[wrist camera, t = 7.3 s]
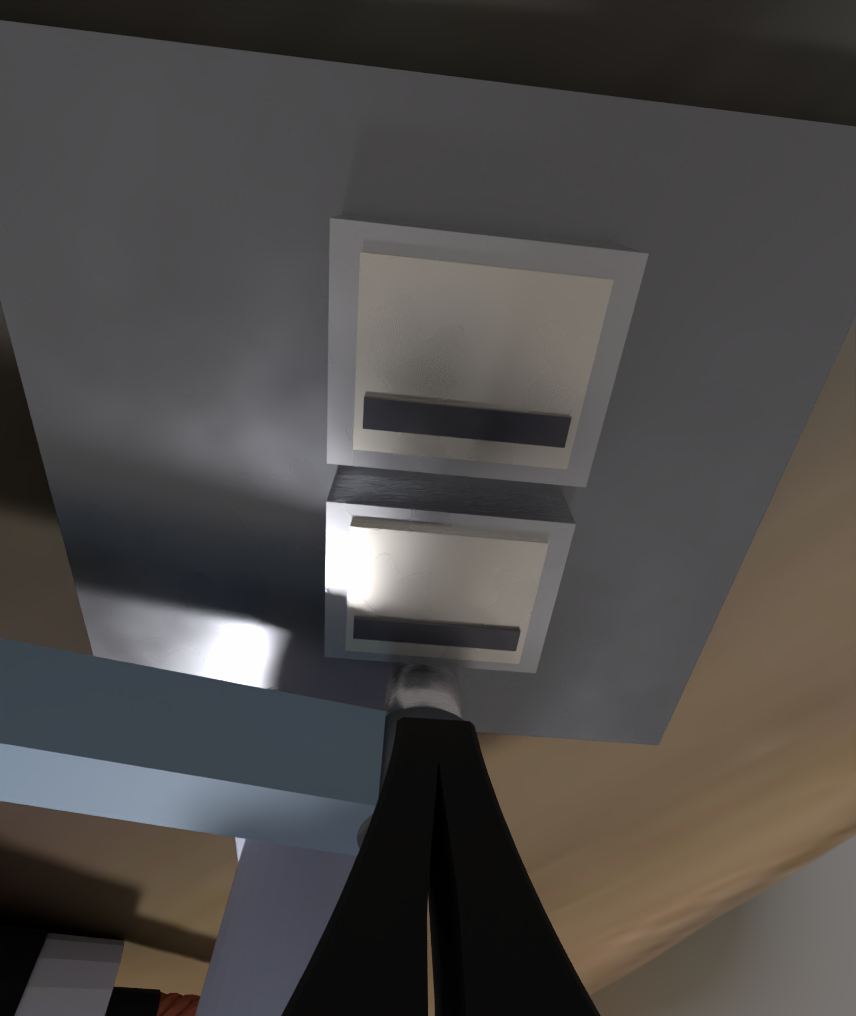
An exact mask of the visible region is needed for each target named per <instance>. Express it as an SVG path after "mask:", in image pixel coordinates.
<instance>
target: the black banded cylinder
mask: <svg viewBox="0 0 856 1016" xmlns="http://www.w3.org/2000/svg"><path fill="white" fill-rule="evenodd" d="M123 949H124V941H122V940H113V939H103V938H93V937H84V936H74V935H64V934H54V933H49V930H40V929H31V928H22V927H13V926H4V925H0V1016H195V1014H196V1010H197V1007H198V1003H199V1000H200V996H197V995H193V994H191V995H184V996H183V995H180V994H178V993H169V994H168V995H167V994H165V993H162V992H160V990H157V989H142V988H127V987H114V983H115V980H116V976H117V973H118V969H119V966H120V962H121V957H122V953H123Z"/></svg>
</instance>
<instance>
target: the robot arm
mask: <svg viewBox="0 0 856 1016" xmlns="http://www.w3.org/2000/svg"><path fill="white" fill-rule="evenodd" d="M235 841H236V849H237V858H238V866H237V870H236V873H235V877H234V880H233V884H232V887H231V891H230V894H229V898H228V901H227V905H226V908H225V912H224V915H223V919H222V922H221V926H220V929H219V933H218V936H217V940H216V943H215V947H214V951H213V954H212V958H211V961H210V965H209V968H208V972H207V975H206V979H205V982H204V986H203V989H202V993H201V996H200V1000H199V1003H198V1007H197V1010H196V1014H195V1016H428V976H427V903H428V898H429V915H430V931H431V947H432V964H433V980H434V998H435V1016H600V1014H599V1012H598V1011H597V1009H596V1007H595V1005H594V1003H593V1002H592V1000H591V998H590V996H589V994H588V993H587V991H586V989H585V987H584V986H583V984H582V982H581V980H580V978H579V976H578V974H577V973H576V971H575V969H574V967H573V965H572V963H571V961H570V959H569V958H568V956H567V954H566V952H565V950H564V948H563V946H562V944H561V942H560V940H559V938H558V936H557V934H556V932H555V930H554V928H553V926H552V924H551V922H550V920H549V918H548V916H547V914H546V912H545V910H544V908H543V906H542V904H541V902H540V899H539V897H538V895H537V893H536V891H535V889H534V887H533V884H532V882H531V880H530V878H529V876H528V874H527V871H526V869H525V867H524V864H523V862H522V860H521V858H520V855H519V853H518V851H517V848H516V846H515V843H514V841H513V838H512V836H511V833H510V831H509V829H508V826H507V824H506V821H505V819H504V816H503V814H502V811H501V809H500V806H499V803H498V801H497V798H496V795H495V792H494V789H493V786H492V784H491V781H490V778H489V775H488V772H487V769H486V766H485V763H484V759H483V756H482V753H481V749H480V745H479V742H478V738H477V734H476V729H475V726H474V725H473V724H472V723H471V722H470V721H461V720H445V719H428V718H412V717H403V718H401V719H399V720H398V721H397V724H396V733H395V739H394V744H393V749H392V754H391V758H390V762H389V766H388V769H387V773H386V776H385V779H384V783H383V786H382V789H381V793H380V795H379V798H378V801H377V804H376V807H375V810H374V812H373V815H372V818H371V821H370V824H369V827H368V829H367V832H366V835H365V837H364V840H363V843H362V845H361V848H360V850H359V852H358V855H357V856H353V855H346V854H340V853H333V852H327V851H321V850H314V849H308V848H301V847H295V846H288V845H282V844H275V843H269V842H263V841H256V840H250V839H243V838H237V837H235Z"/></svg>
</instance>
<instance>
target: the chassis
mask: <svg viewBox="0 0 856 1016" xmlns="http://www.w3.org/2000/svg"><path fill="white" fill-rule="evenodd" d="M0 300H1V304H2V308H3V312H4V316H5V319H6V323H7V327H8V331H9V335H10V338H11V342H12V346H13V350H14V354H15V358H16V361H17V365H18V369H19V373H20V377H21V380H22V384H23V388H24V392H25V396H26V400H27V403H28V407H29V411H30V415H31V419H32V422H33V426H34V430H35V434H36V438H37V441H38V445H39V449H40V453H41V457H42V461H43V464H44V468H45V472H46V476H47V480H48V483H49V487H50V491H51V495H52V499H53V503H54V506H55V510H56V514H57V518H58V522H59V525H60V529H61V533H62V537H63V541H64V544H65V548H66V552H67V556H68V560H69V564H70V567H71V571H72V575H73V579H74V583H75V586H76V590H77V594H78V598H79V602H80V606H81V609H82V613H83V617H84V621H85V625H86V628H87V632H88V636H89V640H90V644H91V647H92V651H93V655H94V656H97V657H102V658H107V659H112V660H118V661H123V662H128V663H134V664H139V665H144V666H149V667H155V668H160V669H165V670H170V671H176V672H181V673H186V674H192V675H197V676H202V677H207V678H213V679H218V680H223V681H229V682H234V683H239V684H244V685H250V686H255V687H260V688H265V689H271V690H276V691H281V692H287V693H292V694H297V695H302V696H308V697H313V698H318V699H324V700H329V701H334V702H339V703H345V704H350V705H355V706H361V707H366V708H371V709H376V710H382V711H386V716H387V715H388V714H391V713H393V712H395V711H398V710H402V709H406V708H412V707H431V708H438V709H442V710H445V711H448V712H451V713H453V714H455V715H457V716H459V717H460V718H462V719H463V720H464V721H470V722H471V723H472V724H473V725H474V726H475V729H476V732H481V733H495V734H509V735H523V736H537V737H551V738H565V739H579V740H592V741H606V742H620V743H634V744H648V745H659V743H660V741H661V739H662V736H663V734H664V732H665V730H666V728H667V726H668V723H669V721H670V719H671V717H672V715H673V712H674V710H675V708H676V706H677V704H678V702H679V699H680V697H681V695H682V693H683V691H684V688H685V686H686V684H687V682H688V680H689V678H690V675H691V673H692V671H693V669H694V667H695V664H696V662H697V660H698V658H699V656H700V654H701V651H702V649H703V647H704V645H705V643H706V640H707V638H708V636H709V634H710V632H711V630H712V627H713V625H714V623H715V621H716V619H717V616H718V614H719V612H720V610H721V608H722V606H723V603H724V601H725V599H726V597H727V595H728V592H729V590H730V588H731V586H732V584H733V582H734V579H735V577H736V575H737V573H738V571H739V569H740V566H741V564H742V562H743V560H744V558H745V555H746V553H747V551H748V549H749V547H750V545H751V542H752V540H753V538H754V536H755V534H756V531H757V529H758V527H759V525H760V523H761V521H762V518H763V516H764V514H765V512H766V510H767V507H768V505H769V503H770V501H771V499H772V497H773V494H774V492H775V490H776V488H777V486H778V483H779V481H780V479H781V477H782V475H783V473H784V470H785V468H786V466H787V464H788V462H789V459H790V457H791V455H792V453H793V451H794V449H795V446H796V444H797V442H798V440H799V438H800V435H801V433H802V431H803V429H804V427H805V425H806V422H807V420H808V418H809V416H810V414H811V412H812V409H813V407H814V405H815V403H816V401H817V398H818V396H819V394H820V392H821V390H822V388H823V385H824V383H825V381H826V379H827V377H828V374H829V372H830V370H831V368H832V366H833V364H834V361H835V359H836V357H837V355H838V353H839V350H840V348H841V346H842V344H843V342H844V340H845V337H846V335H847V333H848V331H849V329H850V326H851V324H852V322H853V320H854V318H855V316H856V126H848V125H840V124H832V123H824V122H816V121H807V120H799V119H791V118H783V117H775V116H767V115H759V114H751V113H743V112H735V111H727V110H719V109H711V108H703V107H695V106H687V105H679V104H671V103H663V102H655V101H647V100H639V99H631V98H622V97H614V96H606V95H598V94H590V93H582V92H574V91H566V90H558V89H550V88H542V87H534V86H526V85H518V84H510V83H502V82H494V81H486V80H478V79H470V78H462V77H454V76H446V75H437V74H429V73H421V72H413V71H405V70H397V69H389V68H381V67H373V66H365V65H357V64H349V63H341V62H333V61H325V60H317V59H309V58H301V57H293V56H285V55H277V54H269V53H261V52H253V51H244V50H236V49H228V48H220V47H212V46H204V45H196V44H188V43H180V42H172V41H164V40H156V39H148V38H140V37H132V36H124V35H116V34H108V33H100V32H92V31H84V30H76V29H68V28H59V27H51V26H43V25H35V24H27V23H19V22H11V21H3V20H0Z"/></svg>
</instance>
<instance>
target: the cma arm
mask: <svg viewBox="0 0 856 1016" xmlns="http://www.w3.org/2000/svg"><path fill="white" fill-rule="evenodd" d="M403 717H412V718H428V719H445V720H461V721H464V720H463V719H462V718H460V717H459V716H457V715H455V714H453V713H451V712H448V711H445V710H442V709H438V708H431V707H412V708H406V709H402V710H398V711H395V712H393V713H391V714H388V715H387V716H386V711H382V710H376V709H371V708H366V707H361V706H355V705H350V704H345V703H339V702H334V701H329V700H324V699H318V698H313V697H308V696H302V695H297V694H292V693H287V692H281V691H276V690H271V689H265V688H260V687H255V686H250V685H244V684H239V683H234V682H229V681H223V680H218V679H213V678H207V677H202V676H197V675H192V674H186V673H181V672H176V671H170V670H165V669H160V668H155V667H149V666H144V665H139V664H134V663H128V662H123V661H118V660H112V659H107V658H102V657H97V656H91V655H86V654H81V653H75V652H70V651H65V650H60V649H54V648H49V647H44V646H38V645H33V644H28V643H23V642H17V641H12V640H7V639H2V638H0V801H5V802H11V803H18V804H24V805H31V806H37V807H44V808H50V809H57V810H63V811H69V812H76V813H82V814H89V815H95V816H102V817H108V818H114V819H121V820H127V821H134V822H140V823H147V824H153V825H160V826H166V827H172V828H179V829H185V830H192V831H198V832H205V833H211V834H218V835H224V836H230V837H237V838H243V839H250V840H256V841H263V842H269V843H275V844H282V845H288V846H295V847H301V848H308V849H314V850H321V851H327V852H333V853H340V854H346V855H353V856H357V855H358V852H359V850H360V848H361V845H362V843H363V840H364V837H365V835H366V832H367V829H368V827H369V824H370V821H371V818H372V815H373V812H374V810H375V807H376V804H377V801H378V798H379V795H380V793H381V789H382V786H383V783H384V779H385V776H386V773H387V769H388V766H389V762H390V758H391V754H392V749H393V744H394V739H395V733H396V724H397V721H398V720H399V719H401V718H403Z"/></svg>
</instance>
